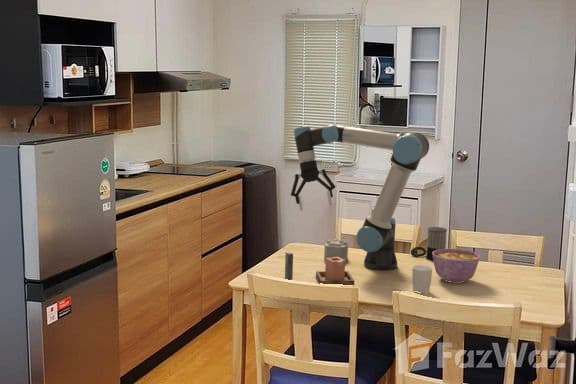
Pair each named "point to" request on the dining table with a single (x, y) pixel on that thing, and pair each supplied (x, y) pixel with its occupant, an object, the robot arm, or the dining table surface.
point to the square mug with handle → (335, 269)
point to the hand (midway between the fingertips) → (316, 208)
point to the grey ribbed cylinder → (432, 242)
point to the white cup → (421, 278)
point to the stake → (289, 265)
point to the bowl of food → (455, 264)
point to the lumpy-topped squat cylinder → (336, 249)
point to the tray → (321, 279)
